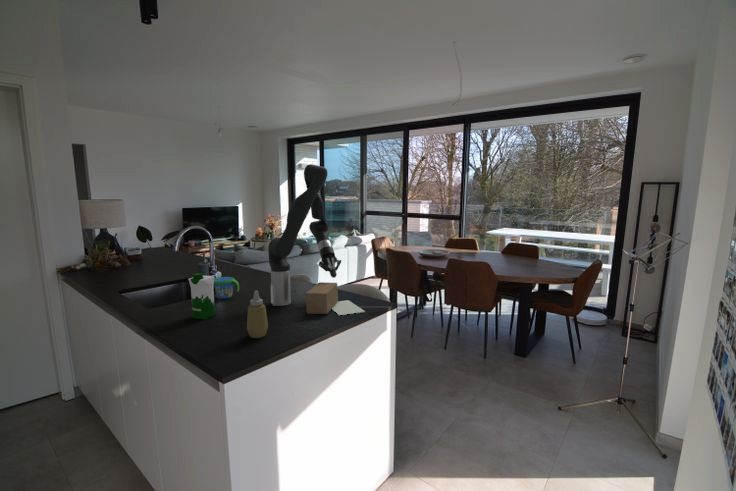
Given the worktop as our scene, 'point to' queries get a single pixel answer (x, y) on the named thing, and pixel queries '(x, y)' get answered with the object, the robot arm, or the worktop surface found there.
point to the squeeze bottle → (257, 317)
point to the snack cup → (224, 287)
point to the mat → (346, 308)
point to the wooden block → (321, 298)
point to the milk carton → (202, 296)
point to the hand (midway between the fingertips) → (334, 276)
